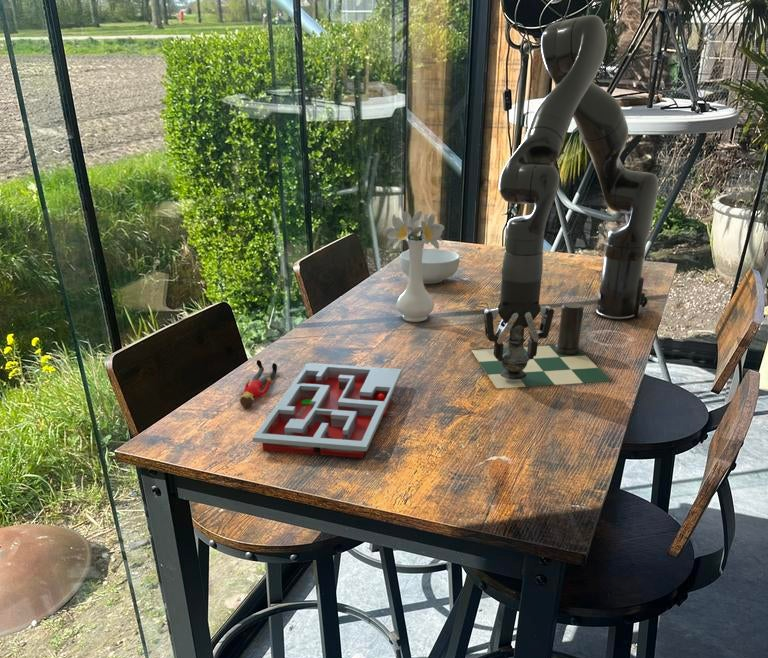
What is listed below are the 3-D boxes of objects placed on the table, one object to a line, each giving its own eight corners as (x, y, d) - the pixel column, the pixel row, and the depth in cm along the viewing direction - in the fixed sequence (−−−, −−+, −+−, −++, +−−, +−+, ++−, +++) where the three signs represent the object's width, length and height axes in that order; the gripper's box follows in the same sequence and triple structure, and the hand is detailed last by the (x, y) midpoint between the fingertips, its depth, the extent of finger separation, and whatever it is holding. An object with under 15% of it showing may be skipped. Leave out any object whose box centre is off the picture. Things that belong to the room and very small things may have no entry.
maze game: (366, 464, 133) (366, 446, 131) (254, 454, 136) (252, 437, 135) (401, 383, 162) (401, 368, 161) (308, 377, 165) (307, 362, 164)
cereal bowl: (460, 288, 219) (461, 262, 215) (399, 288, 219) (400, 262, 216) (456, 272, 234) (457, 247, 230) (399, 272, 234) (399, 247, 230)
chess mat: (574, 344, 181) (574, 343, 181) (611, 381, 163) (611, 380, 163) (471, 350, 178) (471, 349, 178) (496, 388, 160) (496, 388, 160)
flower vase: (445, 307, 205) (449, 205, 192) (433, 331, 189) (436, 221, 176) (396, 304, 207) (396, 203, 194) (380, 327, 192) (379, 219, 179)
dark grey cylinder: (575, 346, 180) (580, 300, 175) (583, 354, 175) (589, 308, 170) (551, 347, 179) (556, 302, 174) (559, 355, 175) (565, 309, 169)
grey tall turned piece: (509, 382, 160) (514, 323, 153) (493, 372, 164) (497, 315, 158) (533, 376, 162) (539, 319, 156) (516, 367, 166) (521, 310, 160)
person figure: (276, 354, 165) (251, 388, 149) (283, 372, 166) (259, 407, 151) (254, 360, 166) (227, 394, 151) (261, 378, 168) (235, 413, 153)
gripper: (490, 282, 148) (484, 368, 157) (564, 278, 150) (555, 363, 159) (480, 271, 155) (475, 354, 164) (551, 268, 156) (543, 350, 165)
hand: (514, 358), depth 161 cm, fingers closed on grey tall turned piece, 6 cm apart
